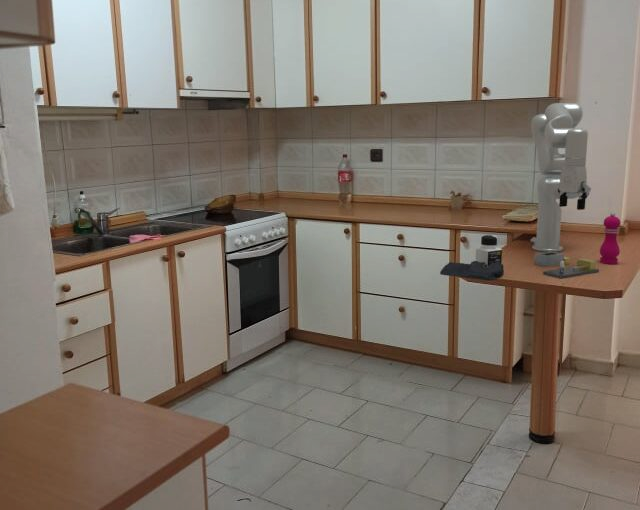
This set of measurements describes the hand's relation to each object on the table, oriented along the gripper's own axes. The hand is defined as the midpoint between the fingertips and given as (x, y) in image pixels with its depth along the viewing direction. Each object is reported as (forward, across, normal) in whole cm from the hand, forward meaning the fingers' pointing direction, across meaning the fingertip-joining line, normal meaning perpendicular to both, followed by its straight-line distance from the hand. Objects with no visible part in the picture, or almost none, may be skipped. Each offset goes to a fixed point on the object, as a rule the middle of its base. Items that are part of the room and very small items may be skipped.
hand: (571, 207), depth 244 cm
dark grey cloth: (+23, -2, -42) cm, 48 cm away
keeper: (+22, +11, -8) cm, 26 cm away
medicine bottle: (+23, -10, -29) cm, 38 cm away
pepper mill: (+23, +2, +18) cm, 29 cm away
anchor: (+22, -6, +2) cm, 23 cm away
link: (+22, -4, -5) cm, 23 cm away
